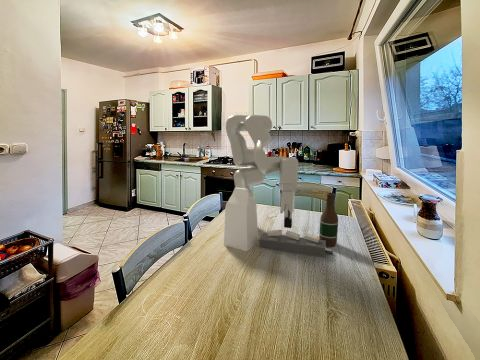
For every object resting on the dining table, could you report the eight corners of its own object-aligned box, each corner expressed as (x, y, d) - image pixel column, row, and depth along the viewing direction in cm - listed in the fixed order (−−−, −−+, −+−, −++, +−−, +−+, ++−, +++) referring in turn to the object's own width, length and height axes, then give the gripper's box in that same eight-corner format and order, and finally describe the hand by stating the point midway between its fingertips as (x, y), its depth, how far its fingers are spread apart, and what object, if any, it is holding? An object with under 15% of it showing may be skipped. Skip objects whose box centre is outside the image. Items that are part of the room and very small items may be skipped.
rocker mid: (285, 235, 111) (286, 232, 111) (286, 233, 114) (287, 230, 114) (298, 240, 109) (299, 237, 109) (299, 237, 112) (300, 234, 112)
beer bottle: (338, 248, 111) (341, 195, 107) (319, 246, 113) (322, 194, 108) (335, 241, 119) (338, 191, 114) (318, 239, 120) (320, 190, 116)
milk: (223, 245, 115) (222, 189, 110) (235, 236, 125) (235, 185, 120) (247, 250, 109) (247, 192, 104) (258, 241, 119) (258, 187, 114)
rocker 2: (303, 238, 109) (304, 235, 108) (304, 235, 112) (305, 232, 111) (317, 242, 107) (318, 239, 106) (318, 239, 110) (319, 236, 109)
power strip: (258, 247, 112) (259, 238, 111) (263, 240, 120) (263, 232, 119) (332, 258, 102) (333, 249, 101) (332, 250, 109) (333, 241, 109)
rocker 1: (267, 236, 114) (267, 232, 114) (269, 233, 117) (268, 230, 117) (280, 235, 112) (280, 232, 112) (282, 232, 115) (281, 229, 115)
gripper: (282, 183, 117) (282, 221, 120) (276, 189, 103) (276, 232, 106) (299, 184, 114) (298, 222, 117) (295, 190, 100) (294, 234, 103)
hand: (287, 227), depth 111 cm, fingers closed
